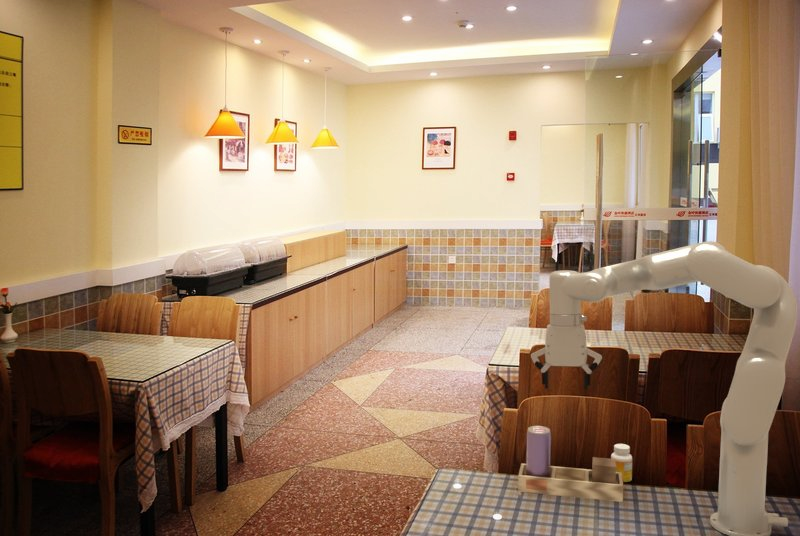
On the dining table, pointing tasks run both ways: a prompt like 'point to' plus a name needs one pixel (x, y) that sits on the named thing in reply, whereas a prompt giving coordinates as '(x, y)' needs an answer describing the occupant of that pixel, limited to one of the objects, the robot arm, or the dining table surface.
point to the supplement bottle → (623, 461)
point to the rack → (570, 484)
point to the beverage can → (538, 451)
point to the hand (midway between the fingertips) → (566, 387)
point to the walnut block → (604, 470)
